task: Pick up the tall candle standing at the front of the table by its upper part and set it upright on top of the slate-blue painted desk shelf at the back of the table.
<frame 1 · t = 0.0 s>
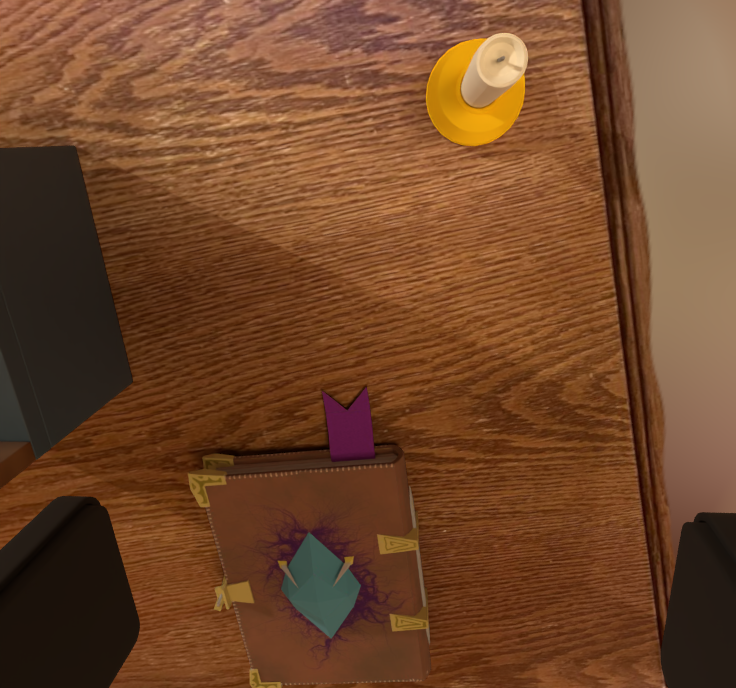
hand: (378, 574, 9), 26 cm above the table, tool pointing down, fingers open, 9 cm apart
book: (315, 532, 42), on the table
candle: (474, 95, 30), on the table
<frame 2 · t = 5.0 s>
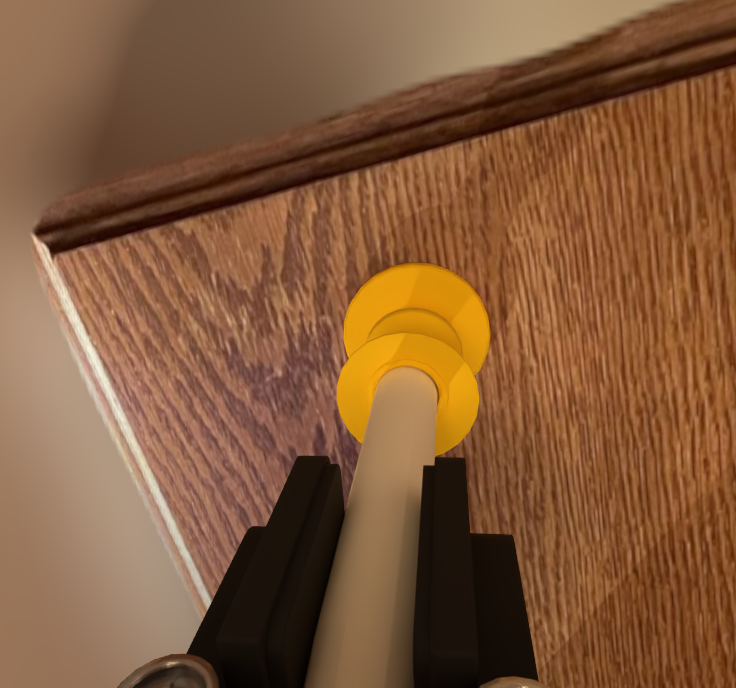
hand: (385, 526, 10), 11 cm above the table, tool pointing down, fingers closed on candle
candle: (416, 330, 20), on the table, touching gripper
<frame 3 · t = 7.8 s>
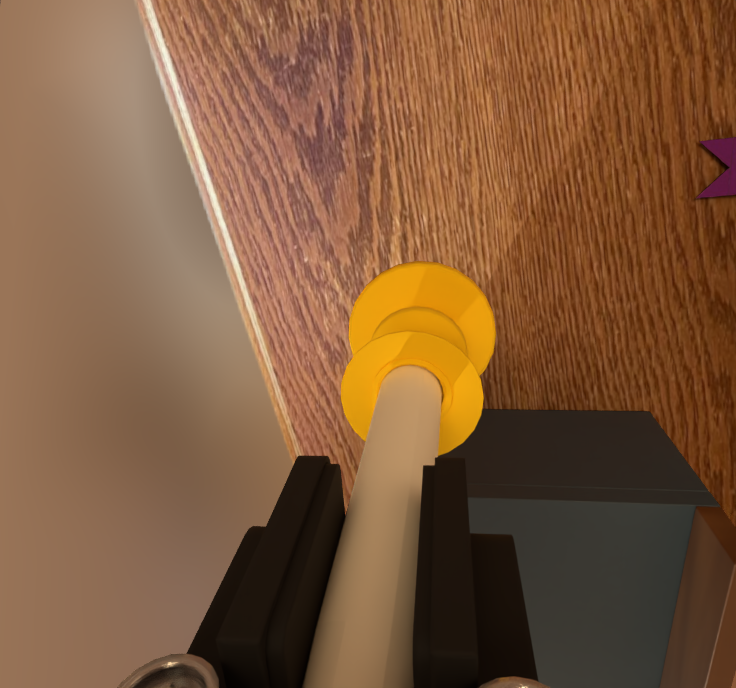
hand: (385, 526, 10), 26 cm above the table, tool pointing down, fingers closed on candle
candle: (421, 329, 20), point 16 cm above the table, touching gripper
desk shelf: (519, 526, 41), on the table
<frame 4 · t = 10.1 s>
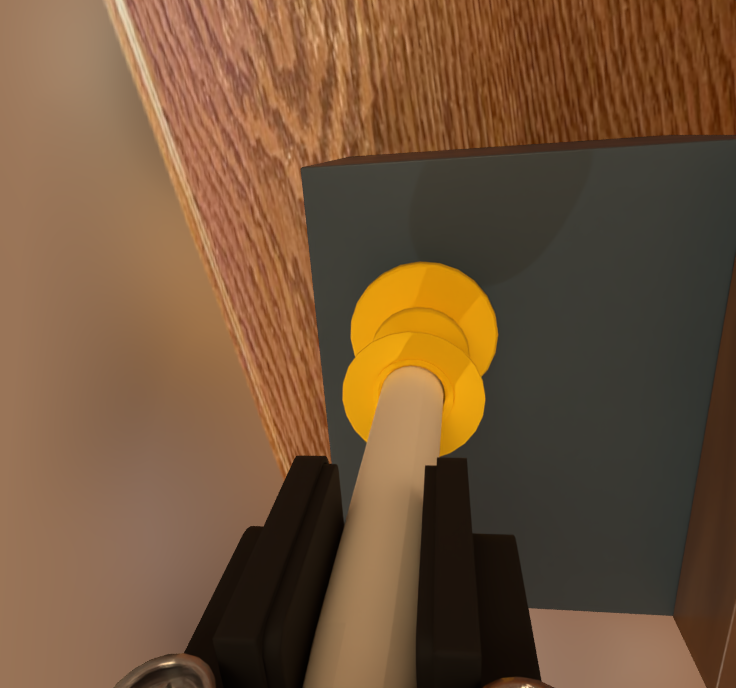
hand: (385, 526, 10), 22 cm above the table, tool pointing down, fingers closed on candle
candle: (423, 329, 20), point 11 cm above the table, touching gripper
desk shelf: (499, 332, 31), on the table
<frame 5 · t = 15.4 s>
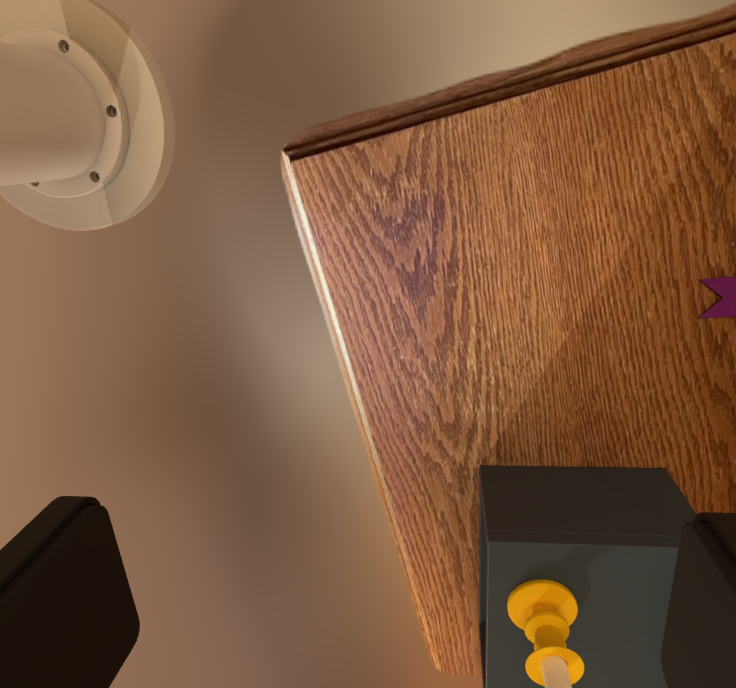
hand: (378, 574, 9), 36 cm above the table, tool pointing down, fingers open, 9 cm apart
candle: (540, 602, 42), point 10 cm above the table, touching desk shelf
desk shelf: (563, 555, 52), on the table
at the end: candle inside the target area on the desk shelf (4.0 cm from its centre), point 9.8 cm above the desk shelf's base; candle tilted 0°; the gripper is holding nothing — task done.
